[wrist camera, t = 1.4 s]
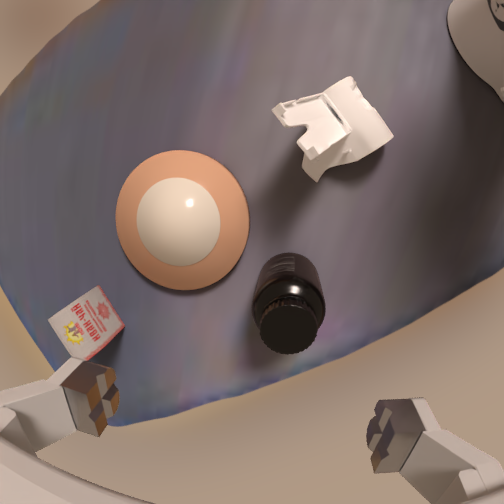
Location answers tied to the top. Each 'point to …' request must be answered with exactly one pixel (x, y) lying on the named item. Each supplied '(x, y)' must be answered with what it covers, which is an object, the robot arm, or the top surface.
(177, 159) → the peach rimmed plate
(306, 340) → the supplement bottle
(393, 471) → the robot arm
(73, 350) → the tea bag
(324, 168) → the plastic part
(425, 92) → the top surface
